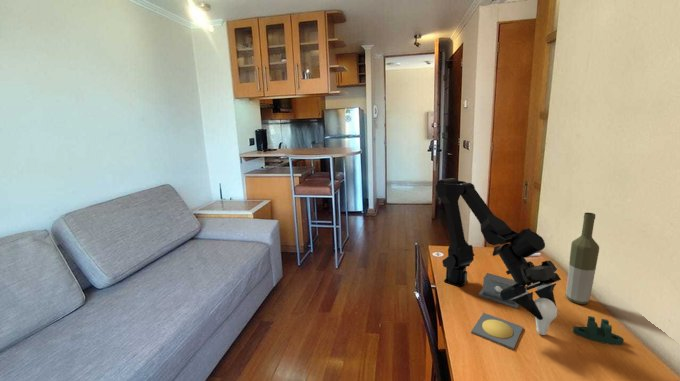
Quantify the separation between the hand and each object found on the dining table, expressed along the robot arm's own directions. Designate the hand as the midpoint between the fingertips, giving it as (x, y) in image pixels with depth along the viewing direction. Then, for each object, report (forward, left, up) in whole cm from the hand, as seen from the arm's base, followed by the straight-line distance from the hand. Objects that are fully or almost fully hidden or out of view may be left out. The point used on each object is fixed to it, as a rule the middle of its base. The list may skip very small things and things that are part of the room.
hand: (548, 316), depth 85 cm
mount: (+11, +9, -7) cm, 15 cm away
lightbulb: (-1, +1, -7) cm, 7 cm away
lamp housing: (-15, +13, -7) cm, 21 cm away
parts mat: (-11, -5, -7) cm, 14 cm away
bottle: (+5, +27, -7) cm, 28 cm away
